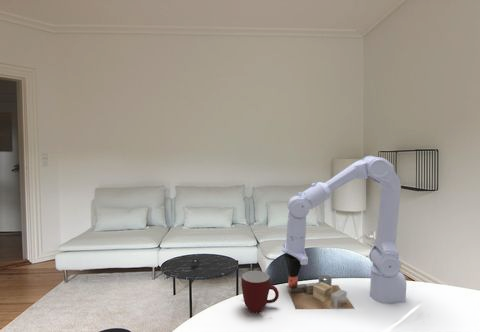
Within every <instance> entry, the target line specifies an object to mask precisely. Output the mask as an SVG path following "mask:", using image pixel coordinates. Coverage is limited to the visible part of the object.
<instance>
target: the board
mask: <svg viewBox="0 0 480 332" xmlns="http://www.w3.org/2000/svg"><path fill="white" fill-rule="evenodd" d="M331 286H332V294H333V293H335V292H337V291H338V290H340V289H341V287H340V286H339V285H337V284H331ZM286 289H287V290H288V294H289V296H290V298H291V301H292V303H293V306H294V309H295V310H348V309H349V310H350V309H351V310H353V309H354V310H355V309H356V308H355V306H354V305H353V303H352V302H351V301H350V300H349V298H348V297H347V299H346V304H344V305H343V306H341V307H339V308H337V309H335V308H333V307H331V306H330V304H331V299H329V300H327V301H325V302H323V301H321V300H319V299H317V298H314V297H313V293H308V294H307V293H306V292H305V291H303V292H293V293H291V292H290V291H289V287H288V285H286Z"/></svg>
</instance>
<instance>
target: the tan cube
mask: <svg viewBox="0 0 480 332" xmlns="http://www.w3.org/2000/svg"><path fill="white" fill-rule="evenodd" d="M317 283H318V282H317ZM331 294H332V286H330V285H327V284H325V283H322V282H321V283H318V284H316V285H314V286H313V297H314V298H317V299H319V300H321V301H323V302H325V301H327V300H329V299H331Z"/></svg>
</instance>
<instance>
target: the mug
mask: <svg viewBox="0 0 480 332" xmlns="http://www.w3.org/2000/svg"><path fill="white" fill-rule="evenodd" d="M240 281H241V284H240V285H241V291H242V298H243V302H244V304H245V307H246V309H247V310H248V313H250V314H255V315H257V314H261V313H262V311H263V310H264V308H265V307H266V305H267V304H273V303H275V302H277V301H278V299H279V296H280V294H279V289H278V288H277V287H276V286H275V285H273V284H271V277H270V274H269V273H267V272H264V271H262V270H250V271H245V272H243V274H242V275H241V280H240ZM270 290H272V291H273V292H274V294H275V295H274V298H272V299H268V297H269V293H270Z"/></svg>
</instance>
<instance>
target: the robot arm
mask: <svg viewBox="0 0 480 332" xmlns="http://www.w3.org/2000/svg"><path fill="white" fill-rule="evenodd" d="M394 167H395V166H394V164H392V163H391V162H390V161H389V160H388V159H386V158H385V157H378V156H377V157H376V156H373V155H367V156H366V155H365V156H364V157H363V158H362V159H358V160H357V161H355V162H353V163H351V164H350V165H349V166H347V167H346V168H344V169H343V170H341V171H339V172H338V173H337V174H336V175H334V176H333V177H331V178H330V179H329V180H327V181H326V182H321V181H318V182H317V183H316V182H313V183H311V186H310V187H309V188H307V189H305V190H304V191H302V192H301V191H299V192H298V195H294V196H292V197H290V199H289V200H288V202H287V208H288V215H287V216H288V217H287V222H286V224H287V225H286V237H285V238H286V240H285V241H283V245H282V247H283V248H281V251H282V253H283V257H284V259H285V263H286V266H287V273H288V277H289V276H290V277H295V276H299V273H300V269H301V267H302V266H304V265H308V264H309V258H308V256H307V254H306V249H305V248H306V247H305V246H306V233H307V216H308V215H309V212H310V210H313V209H314V208H316V207H317V206H319V205H320V204H322V203H324V202H325V201H327V200H328V199H330V198H331V194H332V193H333V192H335V191H336V190H338V189H339V188H341V187H344V185H347V184H348V183H350V182H351V181H353V180H355V179H360V180H361V179H372V181H374V182H375V183H376V185H378V187H380V199H379V209H378V218H377V219H378V220H377V221H378V222H377V231H376V232H377V233H376V239H374V241H373V245H372V248H371V250H370V251H369V260H370V261H371V263H372V264H371V268H370V286H369V287H370V288H369V297H370V298H371V299H372V300H374V301H375V302H379V303H381V304H395V303H406V301H407V300H406V298H407V280H406V276H405V274H404V273H403V272H402V271H401V269H402V264H401V261H400V258H399V257H400V256H399V255H400V252H399V249H398V247H397V246H398V245H397V243H396V241H397V231H398V221H399V212H400V210H399V209H400V200H401V199H400V197H401V190H402V189H401V188H402V183H401V181H400V179H399V177H398V174H397V173H396V171H395V168H394Z"/></svg>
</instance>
